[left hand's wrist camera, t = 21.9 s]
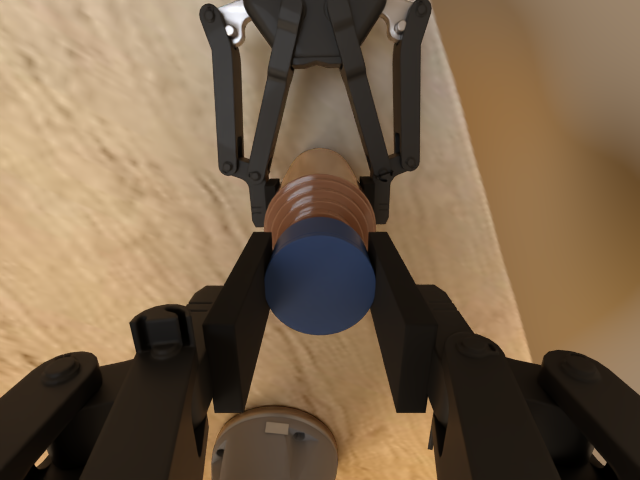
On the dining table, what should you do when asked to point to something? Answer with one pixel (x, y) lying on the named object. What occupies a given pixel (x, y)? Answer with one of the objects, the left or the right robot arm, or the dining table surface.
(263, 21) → the right robot arm
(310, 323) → the cap
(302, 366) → the dining table surface
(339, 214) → the bottle
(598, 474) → the left robot arm
